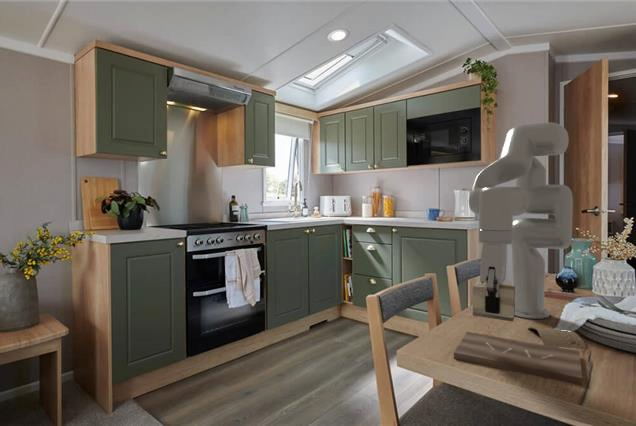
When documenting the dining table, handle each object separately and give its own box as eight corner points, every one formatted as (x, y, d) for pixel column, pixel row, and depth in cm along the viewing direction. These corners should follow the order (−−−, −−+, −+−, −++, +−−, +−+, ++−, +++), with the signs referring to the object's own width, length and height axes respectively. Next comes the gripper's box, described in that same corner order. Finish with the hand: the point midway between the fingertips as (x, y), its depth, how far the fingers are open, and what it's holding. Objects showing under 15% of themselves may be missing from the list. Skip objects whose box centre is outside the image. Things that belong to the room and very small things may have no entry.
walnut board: (466, 337, 108) (466, 331, 108) (578, 356, 94) (578, 350, 94) (453, 358, 95) (453, 352, 95) (582, 385, 81) (582, 378, 81)
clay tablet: (526, 330, 114) (526, 321, 114) (563, 332, 113) (563, 323, 113) (546, 350, 100) (546, 340, 100) (589, 352, 98) (589, 342, 98)
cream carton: (476, 310, 101) (476, 282, 101) (514, 316, 96) (515, 286, 96) (472, 315, 97) (473, 285, 96) (512, 321, 92) (513, 290, 92)
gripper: (484, 233, 105) (483, 300, 106) (472, 239, 90) (471, 316, 91) (515, 234, 101) (514, 304, 102) (508, 241, 86) (506, 321, 87)
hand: (494, 309), depth 96 cm, fingers closed on cream carton, 5 cm apart
